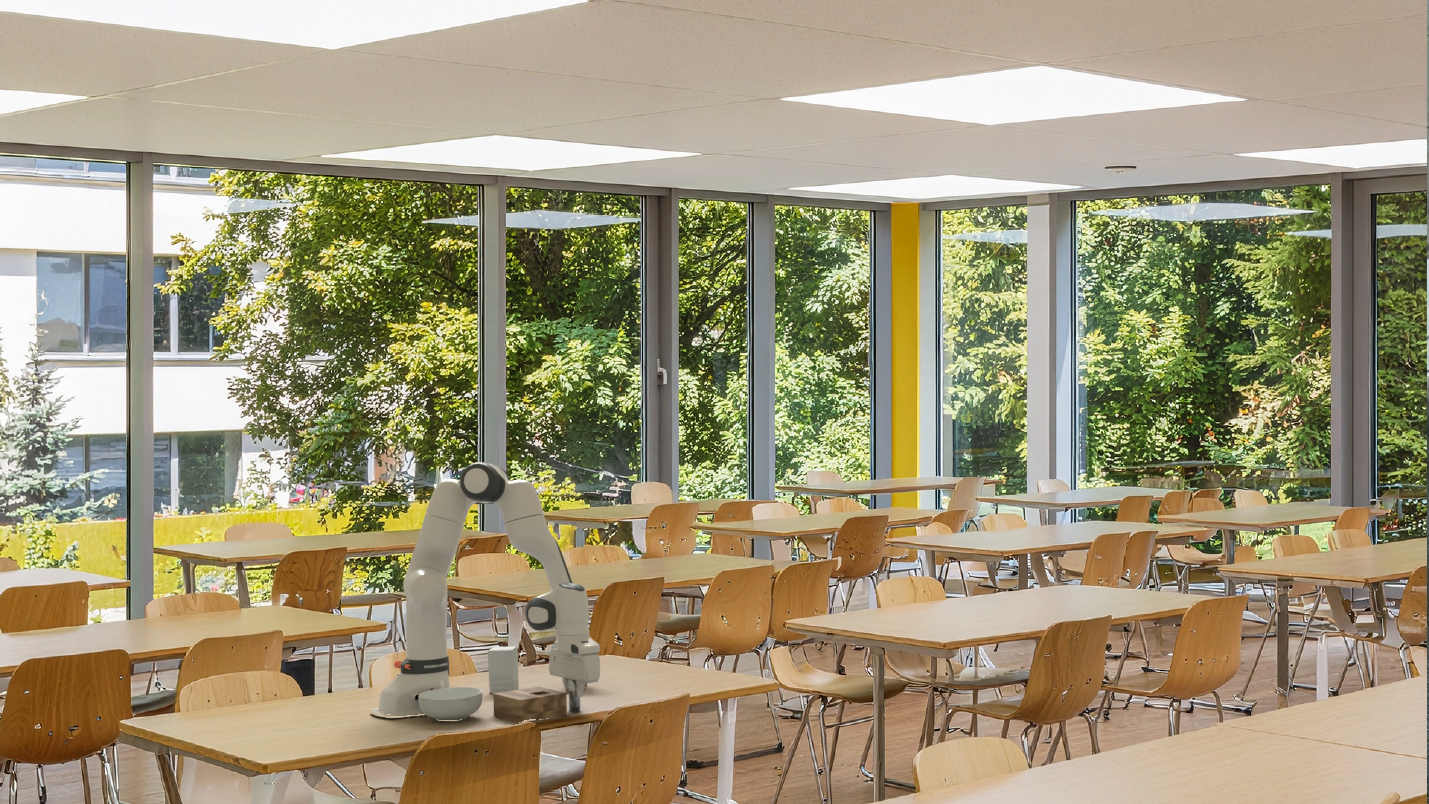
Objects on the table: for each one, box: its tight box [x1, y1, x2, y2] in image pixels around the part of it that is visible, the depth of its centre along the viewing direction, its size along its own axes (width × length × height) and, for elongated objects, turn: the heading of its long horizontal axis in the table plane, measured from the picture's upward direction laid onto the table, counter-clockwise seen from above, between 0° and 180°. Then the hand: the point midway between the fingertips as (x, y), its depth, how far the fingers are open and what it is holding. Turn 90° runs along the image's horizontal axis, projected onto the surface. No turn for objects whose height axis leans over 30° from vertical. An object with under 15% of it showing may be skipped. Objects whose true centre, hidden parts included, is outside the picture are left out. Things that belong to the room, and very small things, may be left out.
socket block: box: [492, 686, 568, 723], centre depth 392 cm, size 14×14×6 cm
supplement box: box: [487, 645, 520, 694], centre depth 431 cm, size 7×7×13 cm
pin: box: [568, 679, 581, 713], centre depth 397 cm, size 3×3×10 cm
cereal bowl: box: [418, 686, 483, 720], centre depth 391 cm, size 17×17×7 cm
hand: (574, 695), depth 397 cm, fingers open, 3 cm apart
